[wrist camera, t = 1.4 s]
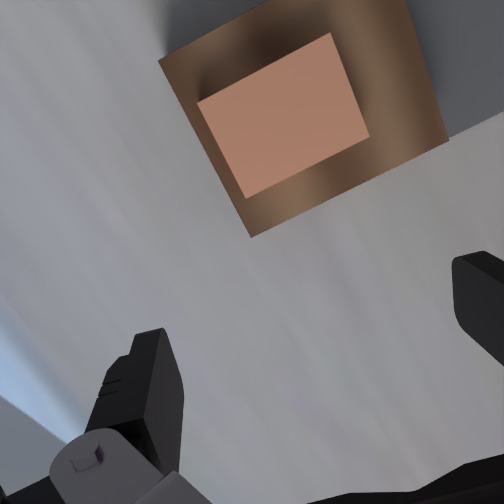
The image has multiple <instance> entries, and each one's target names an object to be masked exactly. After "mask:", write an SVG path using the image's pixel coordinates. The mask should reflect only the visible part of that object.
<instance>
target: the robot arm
mask: <svg viewBox="0 0 504 504" xmlns="http://www.w3.org/2000/svg"><path fill="white" fill-rule="evenodd" d="M452 283H453V299H454V311H455V315H456V318H457V321H458V323H459V325H460V326H461V328H462V329H463V330H464V331H465V332H466V333H467V334H468V335H469V336H470V337H471V338H473V339H474V340H475V341H476V342H477V343H478V344H479V345H480V346H481V347H483V348H484V349H485V350H486V351H487V352H488V353H489V354H490V355H492V356H493V357H494V358H495V359H496V360H497V361H498V362H499V363H500V364H502V365H503V366H504V261H503V260H501V259H499V258H497V257H495V256H493V255H492V254H490V253H488V252H486V251H479V252H475V253H471V254H467V255H463V256H458V257H455V258H454V259H453V261H452ZM102 384H103V386H102V387H101V389H100V392H99V394H98V396H99V398H97V400H96V402H95V405H94V408H93V411H92V413H91V416H90V419H89V421H88V424H87V427H86V430H85V432H84V434H82V435H80V436H79V437H77V438H75V439H74V440H72V441H71V442H70V443H68V444H67V445H66V446H65V447H64V448H63V449H62V450H61V451H60V452H59V453H58V454H57V456H56V457H55V458H54V460H53V462H52V464H51V466H50V471H49V476H47V477H45V478H43V479H42V480H40V481H38V482H36V483H34V484H32V485H30V486H27V487H25V488H23V489H21V490H19V491H17V492H15V493H13V494H11V495H9V496H6V494H5V492H4V491H3V489H2V487H1V486H0V504H212V503H211V502H210V501H209V500H208V499H207V498H205V497H204V496H203V495H202V494H201V493H200V492H199V491H198V490H197V489H196V488H194V487H193V486H192V485H191V484H190V483H189V482H188V481H187V480H186V479H185V478H184V477H182V476H181V475H180V474H179V460H180V446H181V433H182V420H183V407H184V389H183V383H182V379H181V375H180V372H179V369H178V366H177V363H176V360H175V357H174V354H173V351H172V348H171V345H170V342H169V339H168V336H167V333H166V331H165V329H164V328H159V329H155V330H151V331H147V332H143V333H139V334H136V335H135V336H134V340H133V343H132V346H131V350H130V353H129V355H125V356H121V357H119V358H118V359H117V360H116V361H115V362H114V363H113V364H112V366H111V367H110V368H109V369H108V370H107V372H106V375H105V378H104V381H103V383H102ZM308 504H504V454H502V455H498V456H494V457H490V458H486V459H482V460H478V461H474V462H470V463H466V464H463V465H462V466H460V467H458V468H456V469H454V470H453V471H451V472H449V473H447V474H445V475H444V476H442V477H440V478H438V479H437V480H435V481H433V482H431V483H429V484H428V485H426V486H424V487H422V488H420V489H418V490H416V491H412V492H372V493H347V494H343V495H339V496H335V497H332V498H328V499H324V500H320V501H316V502H312V503H308Z"/></svg>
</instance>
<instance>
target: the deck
mask: <svg viewBox="0 0 504 504" xmlns="http://www.w3.org/2000/svg"><path fill="white" fill-rule="evenodd" d="M328 33H331V36H332V38H333V41H334V44H335V46H336V49H337V51H338V54H339V57H340V59H341V62H342V65H343V67H344V70H345V72H346V75H347V78H348V80H349V83H350V86H351V88H352V91H353V94H354V96H355V99H356V101H357V104H358V107H359V109H360V112H361V115H362V117H363V120H364V122H365V125H366V128H367V130H368V133H369V136H370V137H368V138H366V139H364V140H362V141H360V142H358V143H356V144H354V145H352V146H350V147H348V148H346V149H344V150H342V151H340V152H338V153H336V154H334V155H332V156H330V157H328V158H326V159H324V160H322V161H320V162H318V163H316V164H314V165H312V166H310V167H308V168H306V169H304V170H302V171H300V172H298V173H296V174H294V175H292V176H290V177H288V178H286V179H284V180H282V181H280V182H278V183H276V184H274V185H272V186H270V187H268V188H266V189H264V190H262V191H260V192H258V193H256V194H254V195H253V196H251V197H249V198H247V199H246V198H245V196H244V194H243V192H242V190H241V188H240V186H239V184H238V182H237V181H236V179H235V177H234V175H233V173H232V171H231V169H230V167H229V165H228V163H227V161H226V159H225V157H224V155H223V153H222V151H221V149H220V147H219V145H218V144H217V142H216V140H215V138H214V136H213V134H212V132H211V130H210V128H209V126H208V124H207V122H206V120H205V118H204V116H203V114H202V112H201V110H200V108H199V106H198V105H197V103H198V102H200V101H202V100H204V99H206V98H208V97H210V96H212V95H213V94H215V93H217V92H219V91H221V90H223V89H225V88H227V87H228V86H230V85H232V84H234V83H236V82H238V81H240V80H242V79H243V78H245V77H247V76H249V75H251V74H253V73H255V72H257V71H258V70H260V69H262V68H264V67H266V66H268V65H270V64H272V63H273V62H275V61H277V60H279V59H281V58H283V57H285V56H287V55H288V54H290V53H292V52H294V51H296V50H298V49H300V48H302V47H303V46H305V45H307V44H309V43H311V42H313V41H315V40H317V39H318V38H320V37H322V36H324V35H326V34H328ZM158 62H159V64H160V66H161V68H162V70H163V72H164V74H165V76H166V77H167V79H168V81H169V83H170V85H171V87H172V89H173V91H174V93H175V95H176V96H177V98H178V100H179V102H180V104H181V106H182V108H183V110H184V112H185V114H186V115H187V117H188V119H189V121H190V123H191V125H192V127H193V129H194V131H195V132H196V134H197V136H198V138H199V140H200V142H201V144H202V146H203V148H204V150H205V151H206V153H207V155H208V157H209V159H210V161H211V163H212V165H213V167H214V169H215V170H216V172H217V174H218V176H219V178H220V180H221V182H222V184H223V186H224V188H225V189H226V191H227V193H228V195H229V197H230V199H231V201H232V203H233V205H234V207H235V208H236V210H237V212H238V214H239V216H240V218H241V220H242V222H243V224H244V225H245V227H246V229H247V231H248V233H249V235H250V237H251V238H252V237H254V236H256V235H258V234H260V233H262V232H264V231H266V230H268V229H270V228H272V227H274V226H276V225H278V224H280V223H282V222H284V221H287V220H289V219H291V218H293V217H295V216H297V215H299V214H301V213H303V212H305V211H307V210H309V209H311V208H313V207H315V206H317V205H319V204H321V203H323V202H325V201H327V200H329V199H331V198H333V197H335V196H337V195H339V194H342V193H344V192H346V191H348V190H350V189H352V188H354V187H356V186H358V185H360V184H362V183H364V182H366V181H368V180H370V179H372V178H374V177H376V176H378V175H380V174H382V173H384V172H386V171H388V170H390V169H392V168H394V167H397V166H399V165H401V164H403V163H405V162H407V161H409V160H411V159H413V158H415V157H417V156H419V155H421V154H423V153H425V152H427V151H429V150H431V149H433V148H435V147H437V146H439V145H441V144H443V143H445V142H447V141H449V138H448V135H447V132H446V128H445V125H444V122H443V119H442V116H441V112H440V109H439V106H438V103H437V100H436V96H435V93H434V90H433V87H432V84H431V80H430V77H429V74H428V71H427V68H426V64H425V61H424V58H423V55H422V52H421V48H420V45H419V42H418V39H417V36H416V33H415V29H414V26H413V23H412V20H411V17H410V13H409V10H408V7H407V4H406V1H405V0H267V1H265V2H264V3H262V4H260V5H258V6H256V7H254V8H253V9H251V10H249V11H247V12H245V13H244V14H242V15H240V16H238V17H236V18H234V19H233V20H231V21H229V22H227V23H225V24H224V25H222V26H220V27H218V28H216V29H214V30H213V31H211V32H209V33H207V34H205V35H204V36H202V37H200V38H198V39H196V40H194V41H193V42H191V43H189V44H187V45H185V46H184V47H182V48H180V49H178V50H176V51H174V52H173V53H171V54H169V55H167V56H165V57H164V58H162V59H160V60H158Z"/></svg>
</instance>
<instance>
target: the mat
mask: <svg viewBox="0 0 504 504" xmlns="http://www.w3.org/2000/svg"><path fill="white" fill-rule="evenodd" d="M405 1H406V4H407V7H408V10H409V13H410V17H411V20H412V23H413V26H414V29H415V33H416V36H417V39H418V42H419V45H420V48H421V52H422V55H423V58H424V61H425V64H426V68H427V71H428V74H429V77H430V80H431V84H432V87H433V90H434V93H435V96H436V100H437V103H438V106H439V109H440V112H441V116H442V119H443V122H444V125H445V128H446V132H447V135H448V138H450V137H452V136H454V135H456V134H458V133H460V132H462V131H464V130H466V129H468V128H470V127H472V126H474V125H476V124H478V123H480V122H482V121H484V120H486V119H488V118H491V117H493V116H495V115H497V114H499V113H501V112H503V111H504V0H405Z"/></svg>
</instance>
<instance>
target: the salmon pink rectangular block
mask: <svg viewBox="0 0 504 504" xmlns="http://www.w3.org/2000/svg"><path fill="white" fill-rule="evenodd" d="M197 105H198V106H199V108H200V110H201V112H202V114H203V116H204V118H205V120H206V122H207V124H208V126H209V128H210V130H211V132H212V134H213V136H214V138H215V140H216V142H217V144H218V145H219V147H220V149H221V151H222V153H223V155H224V157H225V159H226V161H227V163H228V165H229V167H230V169H231V171H232V173H233V175H234V177H235V179H236V181H237V182H238V184H239V186H240V188H241V190H242V192H243V194H244V196H245V198H246V199H247V198H249V197H251V196H253V195H254V194H256V193H258V192H260V191H262V190H264V189H266V188H268V187H270V186H272V185H274V184H276V183H278V182H280V181H282V180H284V179H286V178H288V177H290V176H292V175H294V174H296V173H298V172H300V171H302V170H304V169H306V168H308V167H310V166H312V165H314V164H316V163H318V162H320V161H322V160H324V159H326V158H328V157H330V156H332V155H334V154H336V153H338V152H340V151H342V150H344V149H346V148H348V147H350V146H352V145H354V144H356V143H358V142H360V141H362V140H364V139H366V138H368V137H370V136H369V133H368V130H367V128H366V125H365V122H364V120H363V117H362V115H361V112H360V109H359V107H358V104H357V101H356V99H355V96H354V94H353V91H352V88H351V86H350V83H349V80H348V78H347V75H346V72H345V70H344V67H343V65H342V62H341V59H340V57H339V54H338V51H337V49H336V46H335V44H334V41H333V38H332V36H331V33H328V34H326V35H324V36H322V37H320V38H318V39H317V40H315V41H313V42H311V43H309V44H307V45H305V46H303V47H302V48H300V49H298V50H296V51H294V52H292V53H290V54H288V55H287V56H285V57H283V58H281V59H279V60H277V61H275V62H273V63H272V64H270V65H268V66H266V67H264V68H262V69H260V70H258V71H257V72H255V73H253V74H251V75H249V76H247V77H245V78H243V79H242V80H240V81H238V82H236V83H234V84H232V85H230V86H228V87H227V88H225V89H223V90H221V91H219V92H217V93H215V94H213V95H212V96H210V97H208V98H206V99H204V100H202V101H200V102H198V103H197Z"/></svg>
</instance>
